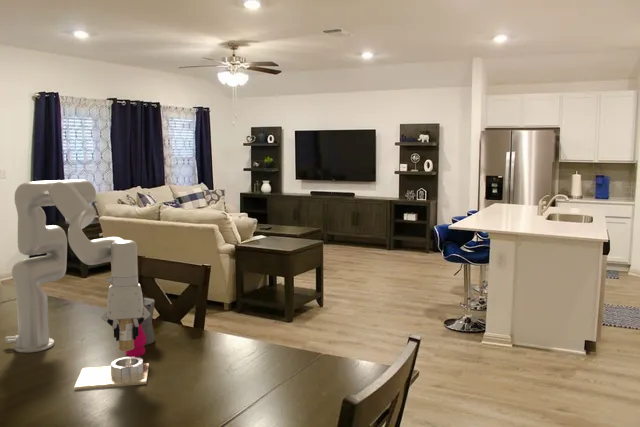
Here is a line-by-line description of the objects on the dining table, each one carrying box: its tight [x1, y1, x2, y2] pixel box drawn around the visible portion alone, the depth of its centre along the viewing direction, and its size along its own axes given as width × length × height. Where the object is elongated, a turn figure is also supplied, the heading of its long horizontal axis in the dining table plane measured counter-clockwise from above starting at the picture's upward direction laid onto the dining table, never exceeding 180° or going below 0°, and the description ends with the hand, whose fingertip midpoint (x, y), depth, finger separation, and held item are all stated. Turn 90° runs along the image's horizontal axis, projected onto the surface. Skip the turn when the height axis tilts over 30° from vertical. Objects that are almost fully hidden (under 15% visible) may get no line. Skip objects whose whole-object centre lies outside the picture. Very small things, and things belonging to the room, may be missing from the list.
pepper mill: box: [125, 321, 146, 357], centre depth 186 cm, size 7×7×20 cm
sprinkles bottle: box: [118, 319, 134, 352], centre depth 167 cm, size 5×5×13 cm
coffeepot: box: [141, 292, 156, 346], centre depth 199 cm, size 15×9×18 cm, turn 44°
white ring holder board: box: [73, 356, 150, 391], centre depth 167 cm, size 20×14×4 cm
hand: (126, 338), depth 167 cm, fingers closed on sprinkles bottle, 4 cm apart
